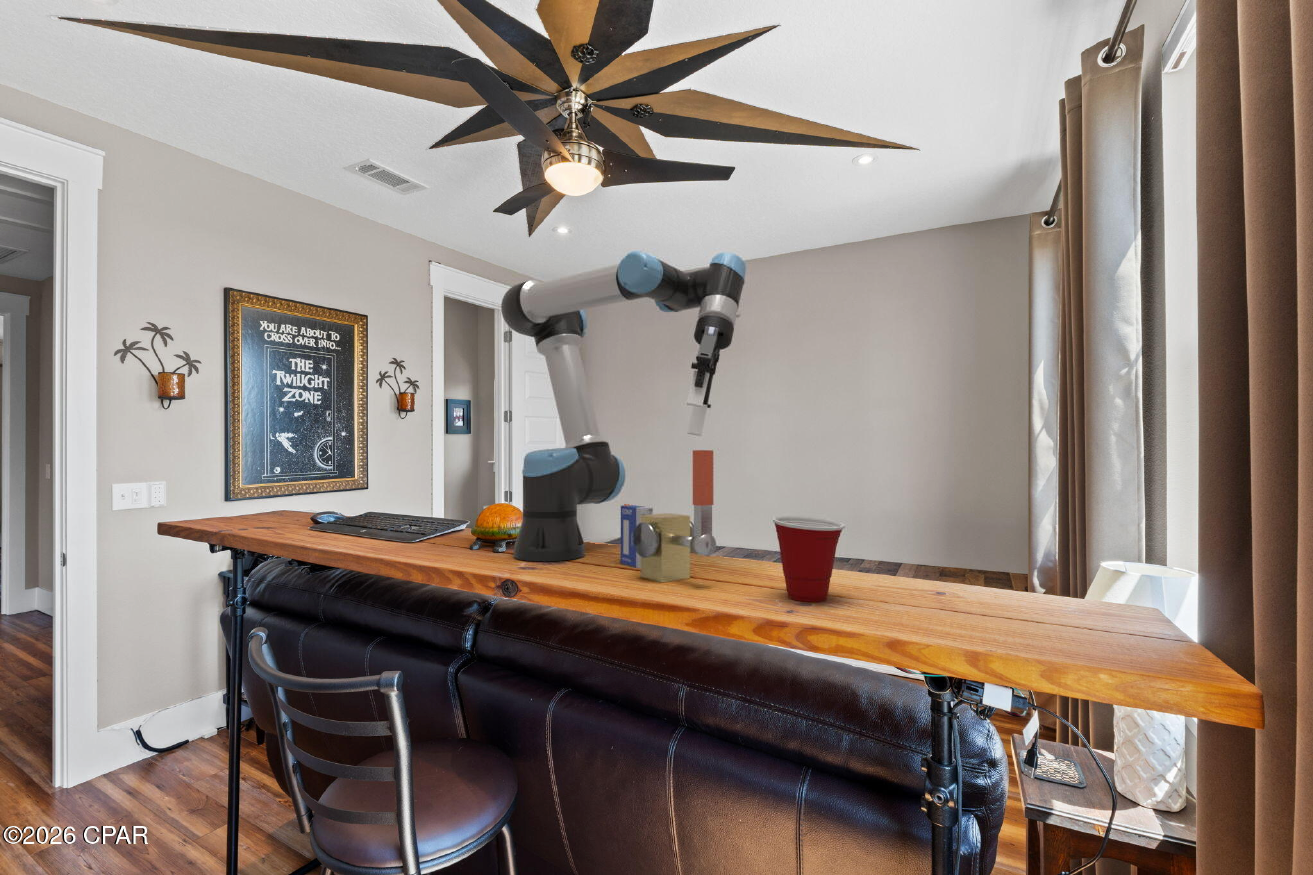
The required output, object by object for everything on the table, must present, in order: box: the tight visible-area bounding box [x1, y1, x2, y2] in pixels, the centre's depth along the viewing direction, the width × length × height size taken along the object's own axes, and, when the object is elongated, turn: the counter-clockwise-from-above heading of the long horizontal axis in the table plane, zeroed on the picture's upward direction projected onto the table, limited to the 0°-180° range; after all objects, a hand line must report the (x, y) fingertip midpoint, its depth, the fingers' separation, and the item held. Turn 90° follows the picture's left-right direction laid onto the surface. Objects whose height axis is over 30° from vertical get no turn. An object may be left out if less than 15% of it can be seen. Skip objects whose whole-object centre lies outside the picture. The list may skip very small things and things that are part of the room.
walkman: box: [619, 503, 654, 570], centre depth 115 cm, size 8×3×12 cm, turn 35°
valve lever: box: [690, 449, 717, 557], centre depth 95 cm, size 2×4×17 cm, turn 127°
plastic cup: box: [772, 515, 846, 603], centre depth 88 cm, size 11×11×12 cm
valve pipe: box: [633, 512, 694, 583], centre depth 101 cm, size 11×10×11 cm
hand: (694, 420), depth 107 cm, fingers open, 13 cm apart
